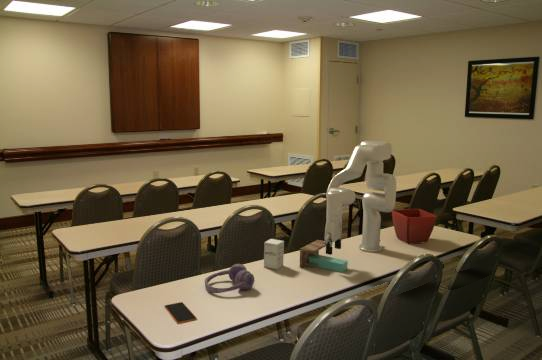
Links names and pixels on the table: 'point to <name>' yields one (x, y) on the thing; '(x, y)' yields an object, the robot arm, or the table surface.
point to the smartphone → (180, 312)
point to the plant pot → (413, 225)
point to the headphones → (233, 279)
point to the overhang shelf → (310, 252)
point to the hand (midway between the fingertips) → (333, 251)
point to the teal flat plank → (329, 262)
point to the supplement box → (273, 253)
